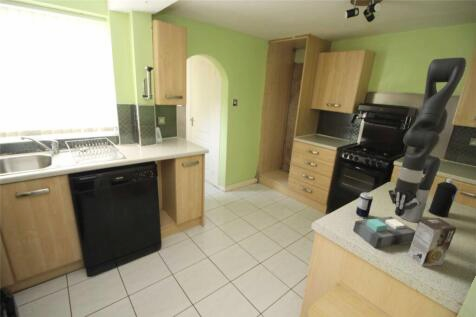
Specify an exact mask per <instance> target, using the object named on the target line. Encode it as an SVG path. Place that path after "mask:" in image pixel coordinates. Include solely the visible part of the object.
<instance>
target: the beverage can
mask: <svg viewBox="0 0 476 317" xmlns="http://www.w3.org/2000/svg"><path fill="white" fill-rule="evenodd" d="M358 197H359V198H358V202H357V205H356V206H357V207H356V210H355V214H356V215H357V216H358V217H359V218H362V219H367V218H368V217H369V215H370V211H371V207H372V204H373V200H374V197H373V194H372V193H370V192H365V191H364V192H360V194H359V196H358Z"/></svg>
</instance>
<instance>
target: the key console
mask: <svg viewBox="0 0 476 317" xmlns="http://www.w3.org/2000/svg"><path fill="white" fill-rule="evenodd" d="M370 219H371V218H370ZM370 219H367V218H366V219H361V220H355V221H354V226H353V229H352V231H353V232H354V233H355V234H356V235H358V236H359V237H360V238H362V240H364V241H365V242H367V243H368V244H369V245H370V246H371V247H373V248H374V249H381V248H385V247H386V248H387V247H390V246H391V247H392V246H396V245H402V244H409V243H412V241H413V238H414V235H415V232H416V229H413V228H411V227H410V226H408V225H406V224H405V223H404V222H401V221H400V220H398V219H396V218H395V217H393V216H385V217H378V218H377V217H376V218H375V217H374V219H378V220H380V221H381V222H383V223H384V224H386V223H385V221H386V220H389V219H396V220H397V221H399V222H401V223H402V224H404V225H405V227H404V228H401V229H394V228H393V227H391V226H390V225H388V224H386V225H387V226H386V230H385V231H381V232H375V231H373V230H372V229H371V228H369V227H368V226H366V224H367V220H370Z"/></svg>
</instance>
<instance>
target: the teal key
mask: <svg viewBox="0 0 476 317" xmlns="http://www.w3.org/2000/svg"><path fill="white" fill-rule="evenodd" d="M366 220H367V219H366ZM366 226H368V227H369V228H371V229H372V230H373V231H375V232H381V231H385V230H386V226H387V225H386V224H384V223H383V222H381V221H380V220H378V219H375V218H370V220H367V224H366Z"/></svg>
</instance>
